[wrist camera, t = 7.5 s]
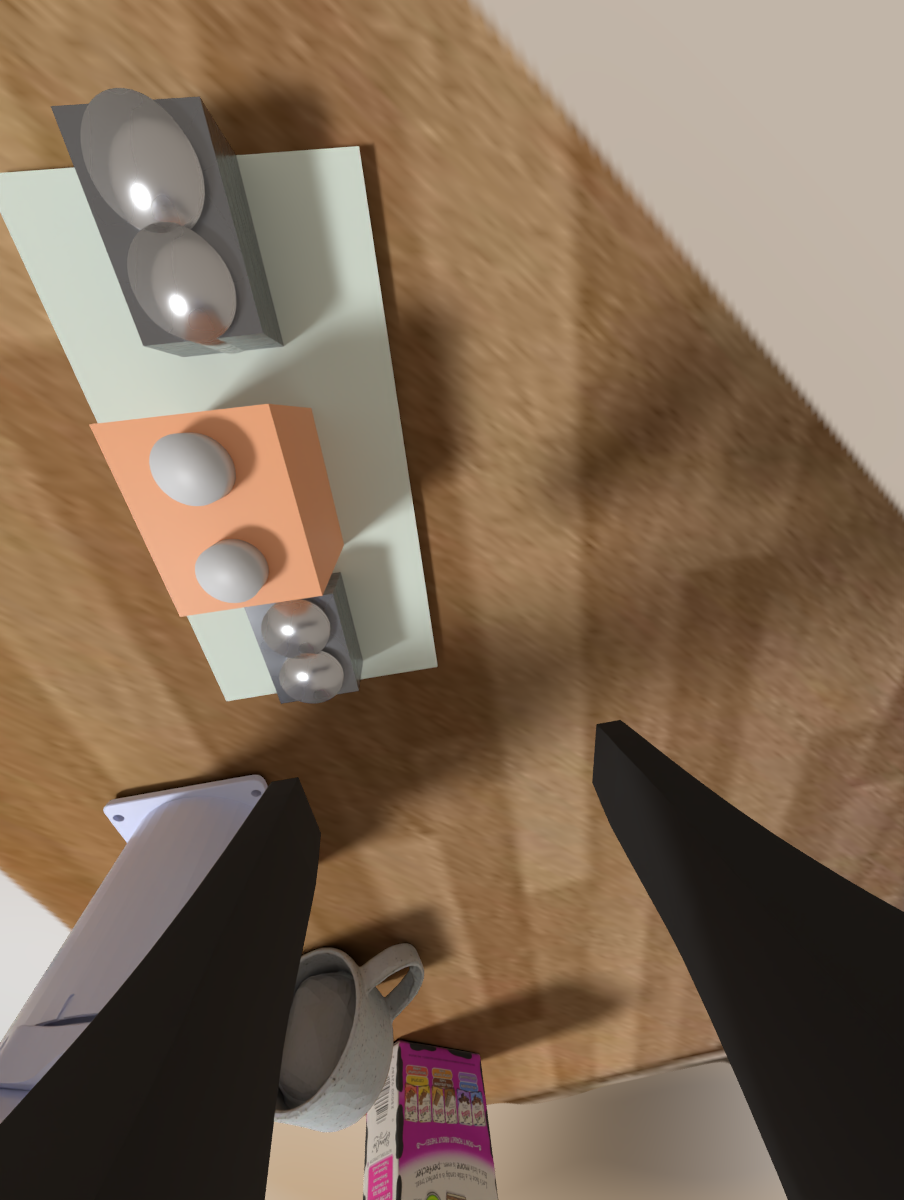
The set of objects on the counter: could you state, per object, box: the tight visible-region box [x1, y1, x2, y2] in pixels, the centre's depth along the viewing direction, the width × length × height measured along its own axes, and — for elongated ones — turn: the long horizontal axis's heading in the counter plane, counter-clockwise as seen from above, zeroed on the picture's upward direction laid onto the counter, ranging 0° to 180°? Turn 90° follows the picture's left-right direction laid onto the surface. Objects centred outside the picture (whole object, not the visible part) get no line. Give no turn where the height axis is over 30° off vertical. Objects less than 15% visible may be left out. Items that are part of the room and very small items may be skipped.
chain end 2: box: [244, 572, 363, 704], centre depth 16 cm, size 5×3×2 cm
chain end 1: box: [51, 88, 284, 357], centre depth 11 cm, size 5×3×2 cm
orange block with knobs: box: [89, 404, 344, 617], centre depth 12 cm, size 5×4×6 cm
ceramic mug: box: [274, 943, 424, 1132], centre depth 27 cm, size 11×8×8 cm
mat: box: [0, 146, 438, 701], centre depth 15 cm, size 18×10×1 cm, turn 6°
